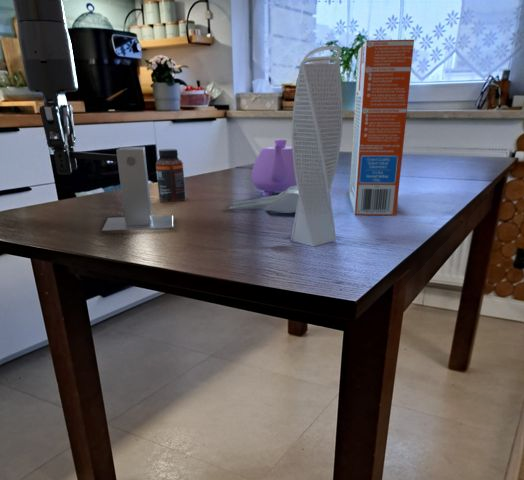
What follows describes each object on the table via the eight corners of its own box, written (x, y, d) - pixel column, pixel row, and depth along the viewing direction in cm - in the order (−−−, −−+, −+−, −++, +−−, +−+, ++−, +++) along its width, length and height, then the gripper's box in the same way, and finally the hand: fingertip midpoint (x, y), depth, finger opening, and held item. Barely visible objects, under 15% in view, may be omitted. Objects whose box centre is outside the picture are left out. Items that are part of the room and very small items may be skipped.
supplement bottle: (189, 200, 119) (185, 148, 114) (181, 205, 114) (177, 150, 109) (164, 200, 120) (160, 148, 115) (155, 205, 115) (150, 150, 110)
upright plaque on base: (102, 237, 89) (90, 152, 82) (109, 224, 97) (98, 146, 91) (173, 234, 90) (166, 150, 84) (173, 221, 99) (166, 144, 93)
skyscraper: (313, 232, 90) (319, 47, 78) (347, 240, 85) (359, 44, 73) (281, 240, 85) (282, 45, 73) (314, 249, 80) (322, 41, 68)
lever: (57, 163, 85) (56, 147, 84) (63, 159, 89) (62, 144, 88) (139, 169, 87) (139, 154, 86) (141, 165, 91) (141, 151, 90)
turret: (236, 216, 113) (231, 194, 111) (327, 203, 109) (324, 180, 107) (226, 226, 104) (221, 202, 102) (325, 213, 100) (322, 188, 98)
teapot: (308, 201, 117) (309, 143, 112) (246, 200, 118) (244, 143, 113) (309, 186, 135) (311, 136, 129) (255, 186, 136) (255, 136, 131)
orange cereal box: (396, 215, 102) (414, 39, 89) (354, 215, 103) (366, 40, 90) (383, 195, 123) (396, 49, 109) (349, 195, 123) (358, 50, 110)
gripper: (33, 60, 86) (53, 168, 94) (9, 54, 73) (35, 179, 81) (80, 60, 87) (96, 166, 95) (64, 54, 74) (84, 177, 82)
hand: (67, 171), depth 88 cm, fingers closed on lever, 5 cm apart
